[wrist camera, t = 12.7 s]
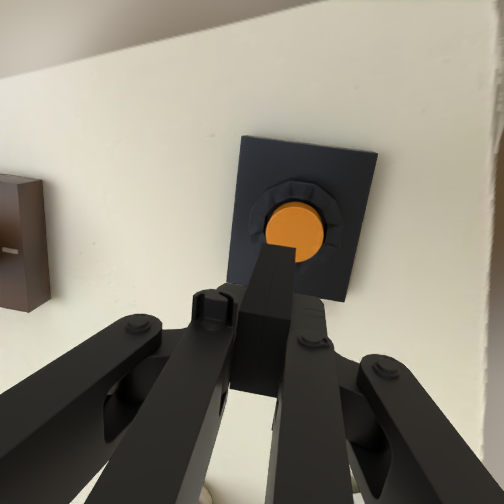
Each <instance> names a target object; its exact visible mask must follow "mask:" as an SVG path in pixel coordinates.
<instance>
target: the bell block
mask: <svg viewBox="0 0 504 504" xmlns="http://www.w3.org/2000/svg"><path fill="white" fill-rule="evenodd" d="M377 157H378V153H375V152H372V151H364V150H356V149H349V148H341V147H333V146H325V145H317V144H310V143H302V142H294V141H286V140H278V139H271V138H263V137H255V136H247V135H246V136H242V137H241V145H240V155H239V164H238V174H237V184H236V193H235V203H234V213H233V222H232V232H231V241H230V251H229V261H228V270H227V280H226V282H227V283H232V284H238V285H244V286H248V284H249V281H250V278H251V276H252V273H253V270H254V267H255V265H256V262H257V259H258V256H259V254H260V251H261V248H262V245H263V243H267V241H266V228H267V225H268V222H269V220H270V218H271V216H272V214H273V212H274V211H275V210H276V209H277V208H278V207H280V206H281V205H283V204H285V203H289V202H302V203H305V204H308V205H310V206H311V207H312V208H314V209H315V210H316V211H317V213H318V214H319V216H320V218H321V221H322V226H323V232H324V237H323V242H322V245H321V247H320V249H319V250H318V252H317V253H316V254H315V255H314V256H312V257H311V258H309V259H307V260H305V261H302V262H295V272H294V286H293V293H296V294H302V295H308V296H314V297H318V298H321V299H327V300H333V301H339V302H345V298H346V294H347V289H348V285H349V281H350V276H351V272H352V267H353V263H354V258H355V254H356V250H357V245H358V241H359V236H360V232H361V227H362V223H363V219H364V214H365V210H366V205H367V201H368V196H369V192H370V188H371V183H372V179H373V174H374V170H375V166H376V161H377Z"/></svg>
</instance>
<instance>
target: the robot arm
mask: <svg viewBox="0 0 504 504" xmlns="http://www.w3.org/2000/svg"><path fill="white" fill-rule="evenodd" d="M295 258H296V248H293V247H287V246H280V245H274V244H268V243H263V245H262V248H261V251H260V254H259V256H258V259H257V262H256V265H255V267H254V270H253V273H252V276H251V278H250V281H249V284H248V286H242V285H236V284H230V283H225V284H223V285H221V286H219V287H218V288H217V289H208V290H202V291H199V292H197V293H196V294H194V295H193V303H192V318H191V322H190V324H189V325H188V327H187V328H183V329H167V330H162V322H161V321H160V320H159V319H158V318H156V317H154V316H152V315H147V314H133V315H128V316H125V317H123V318H121V319H119V320H117V321H115V322H114V323H112V324H111V325H109V326H108V327H106V328H104V329H103V330H101V331H100V332H98V333H97V334H95V335H93V336H92V337H90V338H89V339H87V340H86V341H84V342H82V343H81V344H79V345H78V346H76V347H74V348H73V349H71V350H70V351H68V352H67V353H65V354H63V355H62V356H60V357H59V358H57V359H56V360H54V361H52V362H51V363H49V364H48V365H46V366H45V367H43V368H41V369H40V370H38V371H37V372H35V373H33V374H32V375H30V376H29V377H27V378H26V379H24V380H22V381H21V382H19V383H18V384H16V385H15V386H13V387H11V388H10V389H8V390H7V391H5V392H4V393H2V394H0V504H69V503H70V502H71V501H72V500H73V499H74V498H75V497H76V496H77V495H78V494H79V493H80V491H81V490H82V489H83V488H84V487H85V486H86V485H87V484H88V483H89V482H90V480H91V479H92V478H93V477H94V476H95V475H96V474H97V473H98V472H99V471H100V469H101V468H102V467H103V466H104V465H105V464H106V463H107V462H108V461H109V462H108V463H107V465H106V467H105V468H104V470H103V472H102V474H101V475H100V477H99V479H98V480H97V482H96V484H95V486H94V487H93V489H92V491H91V492H90V494H89V496H88V497H87V499H86V501H85V503H84V504H198V501H199V497H200V494H201V490H202V487H203V483H204V479H205V476H206V472H207V469H208V465H209V462H210V458H211V455H212V451H213V448H214V444H215V441H216V437H217V434H218V430H219V427H220V423H221V419H222V416H223V412H224V409H225V405H226V402H227V395H228V387H229V383H230V388H229V389H233V390H238V391H244V392H249V393H254V394H259V395H264V396H269V397H275V398H277V401H276V407H275V413H274V419H273V424H272V431H273V433H272V442H271V451H270V460H269V469H268V478H267V487H266V496H265V504H354V499H353V491H352V483H351V475H350V468H349V465H350V467H351V470H352V472H353V475H354V477H355V480H356V483H357V485H358V488H359V490H360V493H361V495H362V498H363V500H364V503H365V504H504V491H503V490H502V489H501V487H500V486H499V485H498V483H497V482H496V481H495V480H494V478H493V477H492V476H491V474H490V473H489V472H488V471H487V469H486V468H485V467H484V465H483V464H482V463H481V461H480V460H479V459H478V458H477V456H476V455H475V454H474V452H473V451H472V450H471V449H470V447H469V446H468V445H467V443H466V442H465V441H464V440H463V438H462V437H461V436H460V434H459V433H458V432H457V431H456V429H455V428H454V427H453V425H452V424H451V423H450V422H449V420H448V419H447V418H446V416H445V415H444V414H443V412H442V411H441V410H440V409H439V407H438V406H437V405H436V403H435V402H434V401H433V400H432V398H431V397H430V396H429V394H428V393H427V392H426V391H425V389H424V388H423V387H422V385H421V384H420V383H419V382H418V380H417V379H416V378H415V376H414V375H413V374H412V373H411V371H410V370H409V369H408V368H407V367H406V366H405V365H404V364H402V363H401V362H399V361H397V360H396V359H394V358H392V357H389V356H386V355H379V354H370V355H366V356H364V357H363V358H362V360H361V362H360V364H359V363H357V362H354V361H352V360H349V359H347V358H345V357H342V356H341V355H339V354H338V353H336V352H335V351H334V345H333V343H332V341H331V340H330V339H329V338H328V336H327V327H326V319H325V309H324V304H323V303H322V301H321V300H320V299H319V298H318V297H314V296H308V295H302V294H296V293H293V286H294V272H295Z"/></svg>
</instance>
